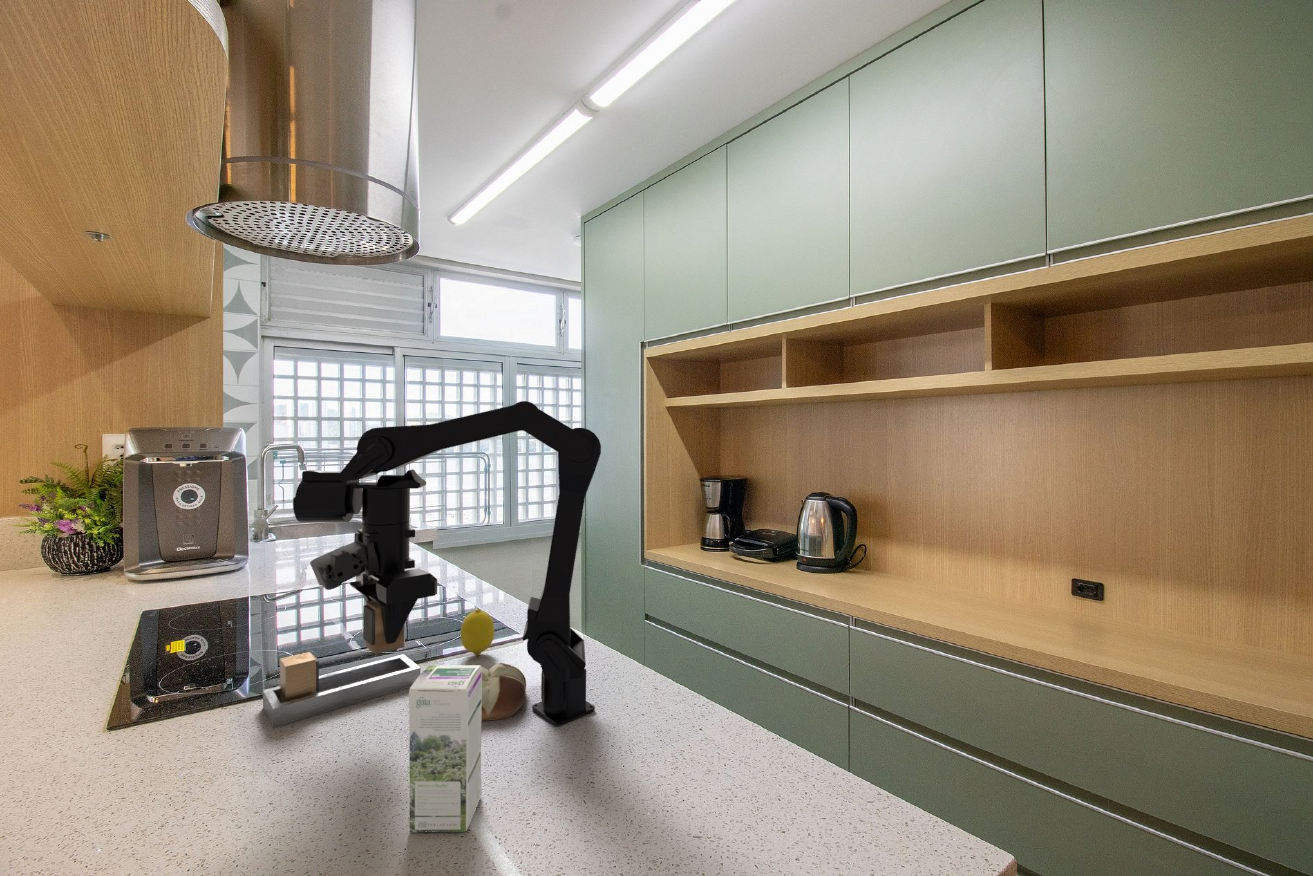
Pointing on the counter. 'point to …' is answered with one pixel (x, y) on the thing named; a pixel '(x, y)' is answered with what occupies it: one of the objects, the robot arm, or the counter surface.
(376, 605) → the upright wooden block
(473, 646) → the lemon
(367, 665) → the rail
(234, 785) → the counter surface
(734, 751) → the counter surface
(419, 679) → the syrup box
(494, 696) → the bread
